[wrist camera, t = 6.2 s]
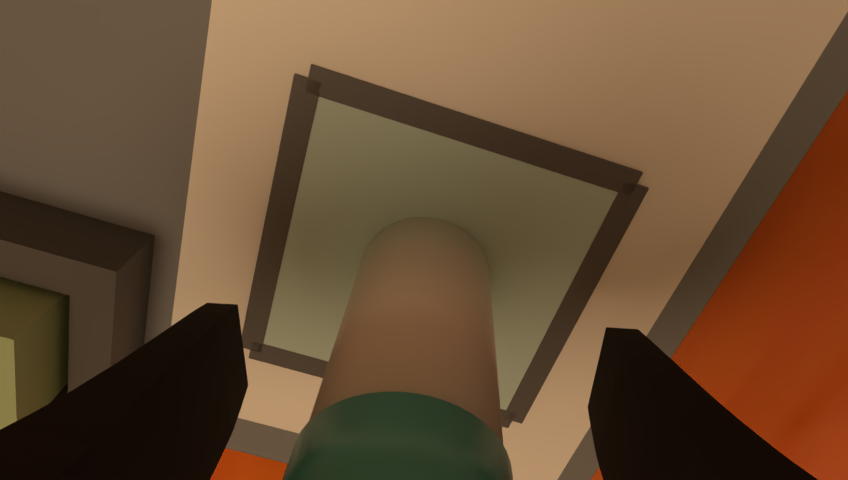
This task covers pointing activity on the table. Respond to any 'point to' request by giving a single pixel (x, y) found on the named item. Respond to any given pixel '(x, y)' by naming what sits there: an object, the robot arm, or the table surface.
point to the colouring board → (401, 173)
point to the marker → (411, 367)
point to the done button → (31, 348)
